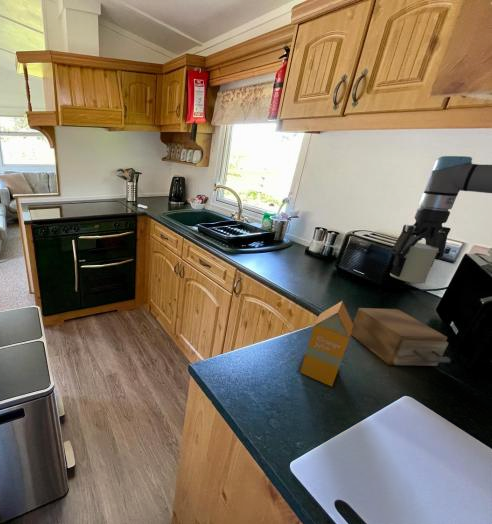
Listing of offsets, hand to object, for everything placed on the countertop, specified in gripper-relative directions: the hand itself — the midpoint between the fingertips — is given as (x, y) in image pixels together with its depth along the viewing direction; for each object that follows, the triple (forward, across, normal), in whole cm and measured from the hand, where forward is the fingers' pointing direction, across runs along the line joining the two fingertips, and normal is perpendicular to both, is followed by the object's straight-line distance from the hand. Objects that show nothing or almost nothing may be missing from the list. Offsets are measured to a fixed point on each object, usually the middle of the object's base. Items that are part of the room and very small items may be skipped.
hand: (408, 275), depth 97 cm
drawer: (+19, -12, -18) cm, 29 cm away
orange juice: (+20, -42, -25) cm, 53 cm away
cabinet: (+20, -12, -14) cm, 27 cm away
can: (+1, 0, 0) cm, 1 cm away
